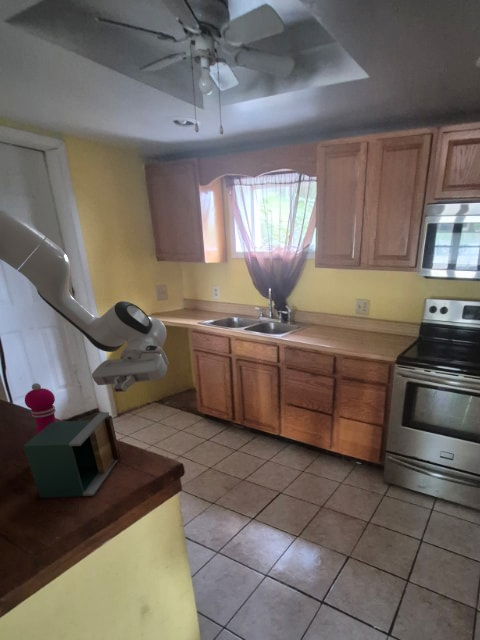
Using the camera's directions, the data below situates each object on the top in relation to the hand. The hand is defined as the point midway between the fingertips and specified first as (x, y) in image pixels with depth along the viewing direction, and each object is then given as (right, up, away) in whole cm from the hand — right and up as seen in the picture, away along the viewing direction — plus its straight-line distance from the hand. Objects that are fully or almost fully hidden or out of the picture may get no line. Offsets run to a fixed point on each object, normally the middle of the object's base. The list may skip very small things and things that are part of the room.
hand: (118, 390), depth 98 cm
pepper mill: (-15, -17, -2) cm, 23 cm away
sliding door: (+1, -18, -7) cm, 20 cm away
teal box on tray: (-3, -21, -10) cm, 23 cm away
